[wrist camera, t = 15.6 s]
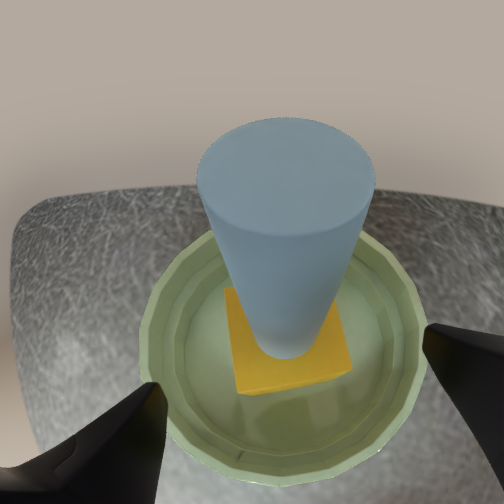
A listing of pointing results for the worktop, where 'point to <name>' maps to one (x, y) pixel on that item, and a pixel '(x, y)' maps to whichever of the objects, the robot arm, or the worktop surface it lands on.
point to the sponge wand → (285, 245)
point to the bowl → (289, 401)
